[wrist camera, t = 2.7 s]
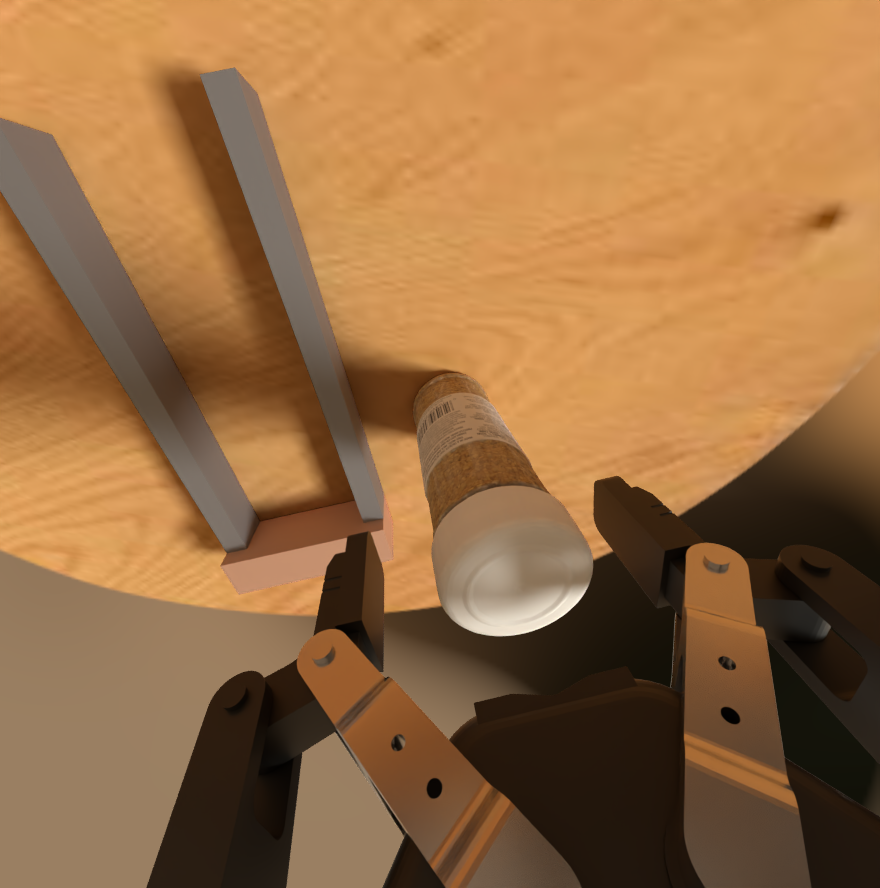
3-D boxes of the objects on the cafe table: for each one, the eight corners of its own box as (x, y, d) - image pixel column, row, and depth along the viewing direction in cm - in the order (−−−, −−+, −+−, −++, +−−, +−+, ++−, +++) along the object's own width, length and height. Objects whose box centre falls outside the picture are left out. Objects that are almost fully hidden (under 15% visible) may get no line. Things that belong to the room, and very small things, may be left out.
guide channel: (21, 140, 15) (-75, 114, 12) (257, 93, 15) (223, 54, 12) (257, 552, 26) (238, 594, 22) (392, 522, 26) (393, 559, 23)
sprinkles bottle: (438, 454, 24) (486, 663, 12) (396, 397, 22) (404, 582, 10) (501, 415, 23) (620, 598, 11) (464, 353, 21) (562, 496, 9)
